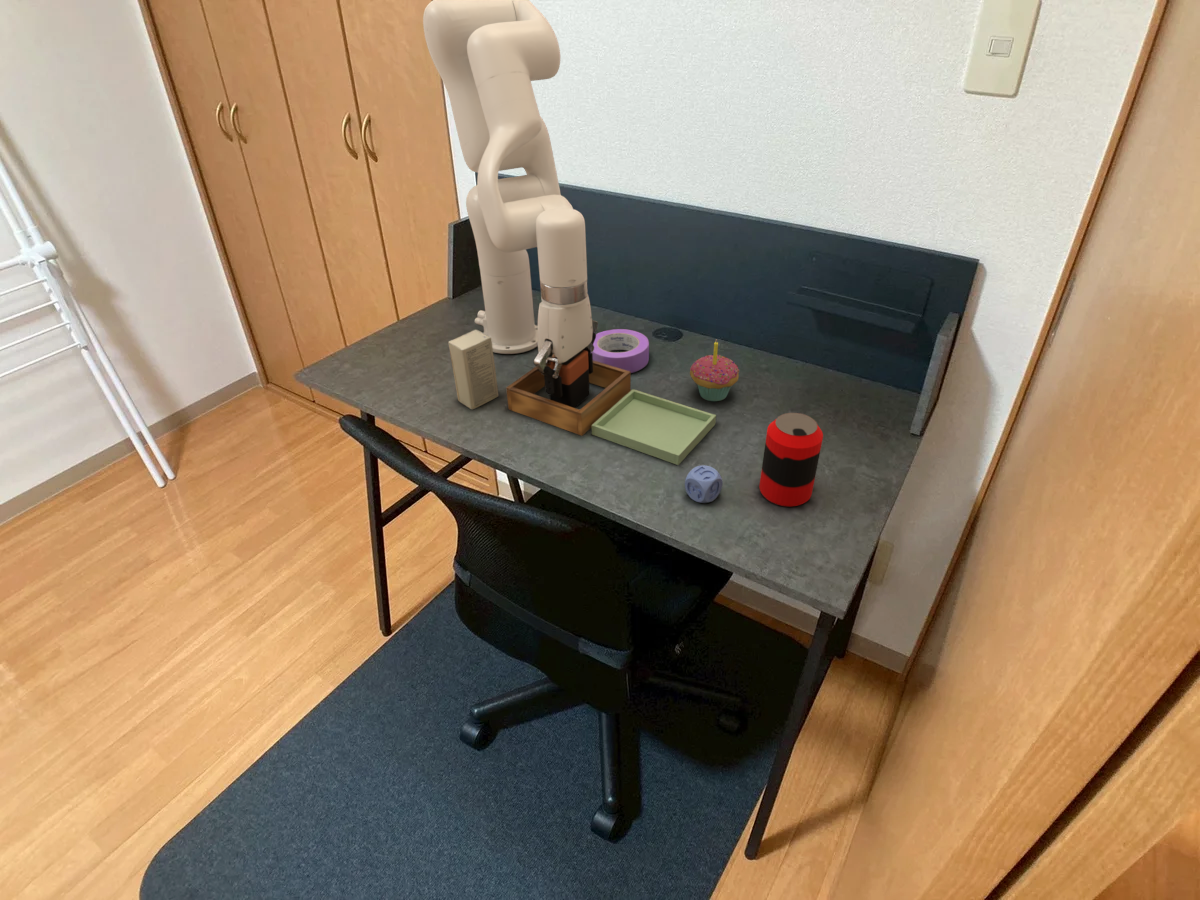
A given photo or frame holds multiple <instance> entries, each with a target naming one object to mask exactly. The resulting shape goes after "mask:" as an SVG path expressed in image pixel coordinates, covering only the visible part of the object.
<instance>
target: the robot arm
mask: <svg viewBox="0 0 1200 900" xmlns="http://www.w3.org/2000/svg"><path fill="white" fill-rule="evenodd" d="M422 27H423V35H424V39H425V43H426V47H427V50H428V52H429V56H430V59H431V61H432V63H433V66H434V67H435V69H436V71H437V73H438V75H439V76H440V78H441V80H442V82H443V85H444V87H445V89H446V92H447V95H448V98H449V102H450V106H451V111H452V115H453V120H454V124H455V128H456V132H457V137H458V142H459V145H460V149H461V154H462V157H463V160H464V162H465V164H466V166H467V168H468V169H469V170H470V171H472V172H474V173H477V182H476V183H477V184H476V185H475V186H473V187H472V188H471V189H469V191H468V193H467V195H466V199H465V200H466V201H465V207H466V213H467V216H468V219H469V220H468V221H469V222H470V227H471V229H472V234H473V237H474V241H475V246H476V251H477V259H478V266H479V267H478V268H479V273H480V281H481V282H480V283H481V288H482V297H483V304H484V310H481V309H480V310H478V312H477V317H475V319H474V324H475V325H477V326H482V327H483V332H482V333H484V334H486V335H488V336H490V337H491V341H492V349H493V353H495V354H501V355H514V354H515V355H516V354H521V353H526V352H529V351H532V350H534V349H536V348H537V351H538V353H537V355H535V358H534V360H533V364H534V367H537V369H538V371H539V372H540V373H541V374H542V375H544V380H545V386H544V391H545V394H547V395H549V396H550V395H552V396H555V397H558V398H560V397H562V395H563V393H562V379H561V376H559V373H560V369H561V366H562V363H564V362H566V361H567V360H569V359H570V358H572V357H573V356H574V355H576V354H577V353H579V352H580V351H581V350H585V351H587V352H588V365H589V374H591V373H592V372H593V355H592V353H591V352H593V351H594V345H593V343H594V341H595V338H596V334H597V330H598V327H599V322H598V321H596V320H593V316H592V308H591V301H590V297H589V290H588V289H589V287H588V263H587V262H588V261H587V260H588V259H587V239H586V237H587V235H586V221H585V218H584V216H583V214H582V212H580V211H578V210H577V209H574V208H573V206H572V204H571V203H570V201H569V200H568V199H567V198H566V197H565V196H564V195H562V194H561V189H560V182H559V178H558V173H557V167H556V163H555V162H556V161H555V157H554V153H553V146H552V142H551V138H550V133H549V130H548V127H547V125H546V123H545V121H544V118H542V116H541V115H540V110H539V107H538V103H537V99H536V95H535V93H534V89H533V88H534V87H533V83H532V82H534V81H543V80H549V79H552V78H554V77H555V76H556V75H557V74H558V72H559V70H560V66H561V48H560V45H559V41H558V37H557V35H556V33H555V31H554V29H553V27H552V25H551V23H550V22H549V21H548V19H547V18H546V17H545V16H544V15H543V13H542V12H541V11H540V10H539V9H538V8H537V7H536V6H535V5H534V4H533V2H531V0H432V1H430V2H429V3H428V4H427V5H426V7H425V8H424V11H423V16H422ZM515 169H523V170H524V172H525V174H523V175H518V176H510V177H509V176H508V177H504V178H499V172H502V171H508V170H515ZM534 248H537V260H538V272H539V273H538V274H539V283H540V284H539V285H540V286H539V287H540V297H541V301H540V302H539V303H538V304H539V305H538V311H537V324H535V314H534V313H535V312H534V300H533V289H532V277H531V265H530V258H529V253H528V251H527V250H529V249H534ZM553 354H554V355H555V357H557V359H556V358H553V357H552V355H553ZM551 361H553V362H556V364H555V367H554V370H553V369H551V368H550V364H551Z"/></svg>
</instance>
